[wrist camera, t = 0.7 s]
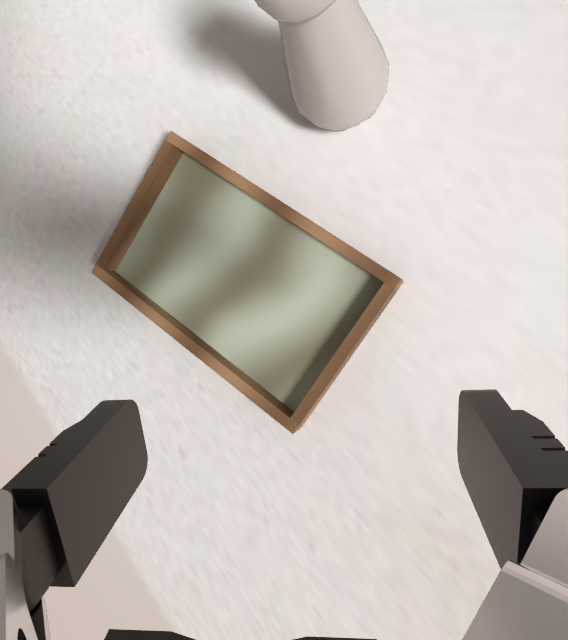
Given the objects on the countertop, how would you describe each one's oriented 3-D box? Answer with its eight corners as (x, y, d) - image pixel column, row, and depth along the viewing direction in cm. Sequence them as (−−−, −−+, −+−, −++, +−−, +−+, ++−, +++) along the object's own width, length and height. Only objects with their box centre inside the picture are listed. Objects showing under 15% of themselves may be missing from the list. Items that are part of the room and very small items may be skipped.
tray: (109, 275, 35) (91, 272, 33) (185, 141, 33) (170, 130, 31) (301, 427, 30) (292, 434, 28) (403, 282, 28) (401, 279, 26)
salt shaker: (361, 159, 29) (310, 34, 16) (287, 122, 30) (189, -16, 18) (410, 72, 28) (395, -128, 16) (331, 39, 29) (261, -167, 17)
